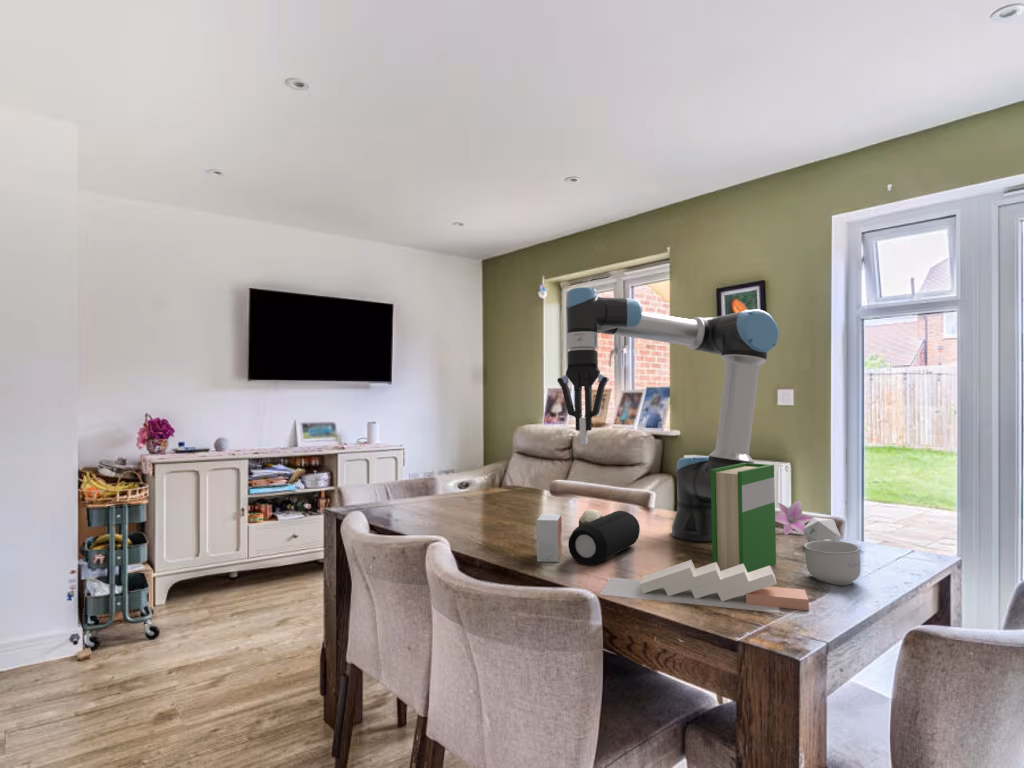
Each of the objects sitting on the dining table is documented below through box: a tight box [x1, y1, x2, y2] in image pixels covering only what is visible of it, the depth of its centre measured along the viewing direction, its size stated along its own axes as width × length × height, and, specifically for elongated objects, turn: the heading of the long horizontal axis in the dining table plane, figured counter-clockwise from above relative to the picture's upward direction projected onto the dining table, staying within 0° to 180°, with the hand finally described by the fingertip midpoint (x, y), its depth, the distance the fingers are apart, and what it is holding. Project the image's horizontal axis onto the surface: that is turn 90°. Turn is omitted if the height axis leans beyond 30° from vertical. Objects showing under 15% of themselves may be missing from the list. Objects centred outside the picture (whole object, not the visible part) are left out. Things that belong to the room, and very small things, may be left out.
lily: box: [775, 499, 813, 536], centre depth 176 cm, size 11×11×9 cm
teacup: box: [803, 539, 861, 586], centre depth 132 cm, size 14×11×8 cm
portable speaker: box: [567, 510, 641, 566], centre depth 154 cm, size 26×10×10 cm, turn 146°
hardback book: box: [711, 462, 777, 572], centre depth 141 cm, size 18×7×24 cm, turn 134°
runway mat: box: [599, 577, 781, 614], centre depth 122 cm, size 34×12×1 cm, turn 70°
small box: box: [535, 513, 563, 563], centre depth 152 cm, size 8×6×10 cm
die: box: [803, 516, 842, 543], centre depth 158 cm, size 8×9×10 cm
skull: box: [578, 509, 603, 527], centre depth 176 cm, size 12×10×10 cm
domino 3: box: [691, 564, 749, 599], centre depth 120 cm, size 2×6×11 cm
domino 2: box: [664, 562, 721, 596], centre depth 122 cm, size 2×6×11 cm
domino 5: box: [745, 586, 810, 611], centre depth 117 cm, size 2×6×11 cm
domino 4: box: [717, 565, 778, 601], centre depth 119 cm, size 2×6×11 cm
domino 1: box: [639, 559, 696, 594], centre depth 124 cm, size 2×6×11 cm
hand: (583, 443), depth 149 cm, fingers closed
